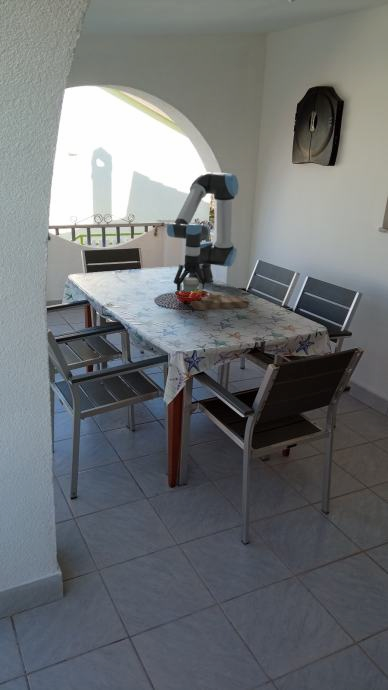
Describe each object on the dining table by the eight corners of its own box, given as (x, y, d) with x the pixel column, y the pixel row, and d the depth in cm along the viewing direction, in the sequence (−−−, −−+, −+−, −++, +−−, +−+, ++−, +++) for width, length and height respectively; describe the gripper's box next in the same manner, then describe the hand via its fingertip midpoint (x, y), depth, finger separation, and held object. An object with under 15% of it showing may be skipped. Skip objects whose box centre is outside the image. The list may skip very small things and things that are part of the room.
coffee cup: (200, 301, 270) (202, 278, 266) (192, 304, 263) (193, 281, 259) (186, 298, 274) (188, 276, 270) (178, 301, 267) (179, 278, 263)
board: (238, 301, 274) (239, 295, 273) (248, 306, 266) (248, 300, 265) (187, 304, 261) (188, 299, 260) (196, 310, 253) (196, 304, 252)
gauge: (217, 299, 264) (217, 291, 263) (223, 301, 260) (224, 294, 259) (198, 301, 257) (198, 293, 256) (204, 304, 253) (205, 296, 252)
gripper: (209, 252, 268) (206, 293, 276) (168, 253, 258) (166, 295, 266) (216, 255, 262) (213, 296, 270) (174, 256, 252) (172, 299, 259)
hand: (189, 296), depth 268 cm, fingers open, 11 cm apart
